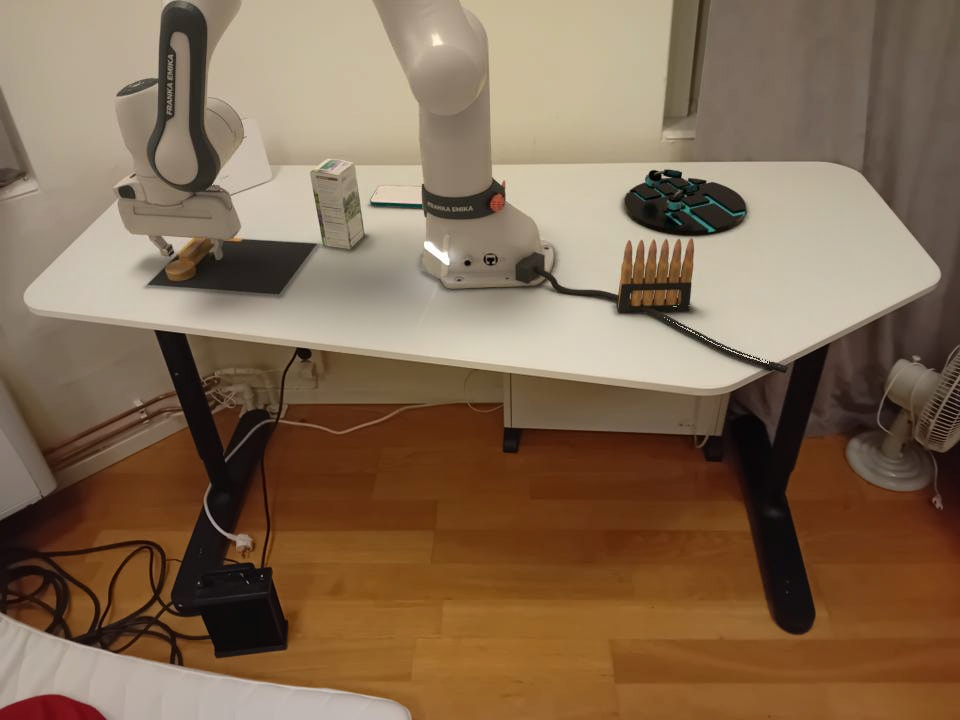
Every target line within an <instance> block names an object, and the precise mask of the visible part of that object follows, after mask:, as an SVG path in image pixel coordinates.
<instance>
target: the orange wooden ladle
mask: <svg viewBox="0 0 960 720" xmlns="http://www.w3.org/2000/svg"><path fill="white" fill-rule="evenodd" d="M214 245H215V243H214V244H212V243H211V240H210V239H205V238H196V239H195V240H194V241H193V242H192V243H191V244H190V245H189V246H188V247H187V248H186V249H185V250H184V251H183V252H182V253H181V254H180V255H179V256H178V257H179V260H177V261H174V262H171V261H170V262H171V263H170V262H169V263H170V264H169V263H167V264H166V265H165V267H166V268H165V267H164V268H165V271H166V274H167V277H168V279H169V280H171V281H184V280H187V279H190V278H191V277H193V276H194V275H195V274H196V272H197V270H196V267H195V266H196V265H197V263H198V262H199V261H200V260H201V259H202V258H203V257H204V256H205V255H206V254H207V253H208V252H209V251H210V250H211V249H212V248H213V247H214Z"/></svg>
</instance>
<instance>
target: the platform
mask: <svg viewBox="0 0 960 720" xmlns="http://www.w3.org/2000/svg"><path fill="white" fill-rule="evenodd" d="M644 181H645V182H642V183H640V184H637V185H635V186H634V187H632V188H631V189H630V190H629V192H626V195H625V196H624V199H623V200H624V202H623V209H624V211H625V213H626V215H627V217H629V218H630V219H631V220H632V221H633V222H635V223H636V224H638V225H640V226H642V227H644V228H647V229H649V230H652V231H656V232H657V233H658V232H659V233H664V234H669V235H676V236H706V235H707V236H708V235H713V234H717V233H722V232H725V231H727V230H730V229H732V228H734V227H736V226H738V225H739V223H741V222H742V220H743V219H744V218H745V214H746V208H747V204H746V202H745V199H744V198H743V197H742V196H741V194H739V193H738V192H736V191H735V190H734V189H731V188H730V187H728V186H726V185H723V184H721V183H719V182H715V181H710V182H708V181H707V180H706V179H702V178H701V179H700V178H693V177H688V178H687V180H686V179H685V178H683V171H680V170H676V169H671V168H670V169H666V168H665V169H663V170H656V169H651V170H650V171H649V172H648V174H646V175H645V177H644Z"/></svg>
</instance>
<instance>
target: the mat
mask: <svg viewBox="0 0 960 720" xmlns="http://www.w3.org/2000/svg"><path fill="white" fill-rule="evenodd" d="M195 239H196V238H192V239H191V241H189V242H188V243H187V244H186V245H185V246H184V247H183V248H182V249H181V250H179V252H178V253H177V254H176V256H174V258H173V259H172V260H170V262H168V264H170V263H171V262H174V261H177V260H179V257H178V256H179V255H180V254H181V253H182V252H183V251H184V250H185V249H186V248H187V247H188V246H189V245H190V244H191V243H192V242H193V241H194V240H195ZM317 245H318V243H315V242H299V241H298V242H297V241H296V242H295V241H281V240H263V239H247V238H238V237H234V238H233V239H231V240H224V241H223V244H222V247H221V249H222V253H223V257H222V258H221V259H220V260H212V259H211V258H210V257H211V256H210V255H209V252H208V253H207V254H206V255H205V256H204V257H203V258H202V259H201V260H200V261H199V262H198V263H197V265H196V266H195V267H196V270H197V272H196V274H195V275H194V276H193V277H191V278H190V279H187V280H184V281H171V280H169V279H168V277H167V274H166V271H165V268H166V266H164V267H163V268H162V269H161V270H160V271H159V272H158V273H157V274H156V275H155V276H154V277H153V278H152V279H151V280H150V281H149V282H148V283H147V286H157V287H158V286H159V287H170V288H183V289H185V288H186V289H196V290H197V289H199V290H210V291H224V292H225V291H226V292H237V293H238V292H239V293H253V294H264V295H277V296H278V295H280V294H281V293H282V291H283V290H284V289H285V288H286V286H287V284H289V282H290V281H291V280H292V278H293V277H294V276H295V274H296V273H297V272H298V270H299V269H300V268H301V267H302V265H303V263H305V261H306V260H307V258H308V257H309V256H310V254H311V253H312V252H313V250H314V249H315V247H316V246H317Z"/></svg>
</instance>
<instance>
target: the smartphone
mask: <svg viewBox="0 0 960 720" xmlns="http://www.w3.org/2000/svg"><path fill="white" fill-rule="evenodd" d="M421 193H422V185H421V186H420V185H397V184H395V185H393V184H381V185H378V186H377V188H376V189H375V191H374V192H373V194H372V196H371V198H370V199H369V204H370V205H371V206H375V207H396V208H419V209H423V207H422V196H421Z"/></svg>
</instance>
